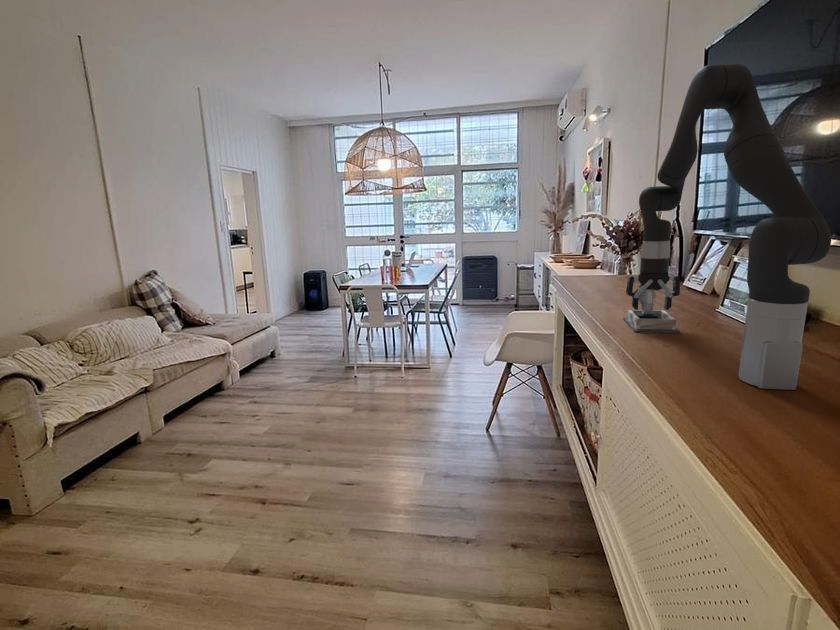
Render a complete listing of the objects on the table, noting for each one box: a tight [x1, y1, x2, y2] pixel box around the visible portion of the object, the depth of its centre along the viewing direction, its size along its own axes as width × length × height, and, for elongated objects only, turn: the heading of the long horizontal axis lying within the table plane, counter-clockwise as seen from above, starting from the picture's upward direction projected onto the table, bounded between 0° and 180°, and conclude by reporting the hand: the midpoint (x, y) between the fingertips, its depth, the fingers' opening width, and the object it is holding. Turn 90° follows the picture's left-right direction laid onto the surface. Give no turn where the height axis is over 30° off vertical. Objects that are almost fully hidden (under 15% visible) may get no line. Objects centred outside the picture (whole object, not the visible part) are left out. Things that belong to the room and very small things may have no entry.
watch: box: [636, 289, 658, 319], centre depth 133 cm, size 6×8×11 cm
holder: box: [622, 309, 681, 334], centre depth 134 cm, size 16×12×4 cm
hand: (651, 309), depth 133 cm, fingers open, 8 cm apart
